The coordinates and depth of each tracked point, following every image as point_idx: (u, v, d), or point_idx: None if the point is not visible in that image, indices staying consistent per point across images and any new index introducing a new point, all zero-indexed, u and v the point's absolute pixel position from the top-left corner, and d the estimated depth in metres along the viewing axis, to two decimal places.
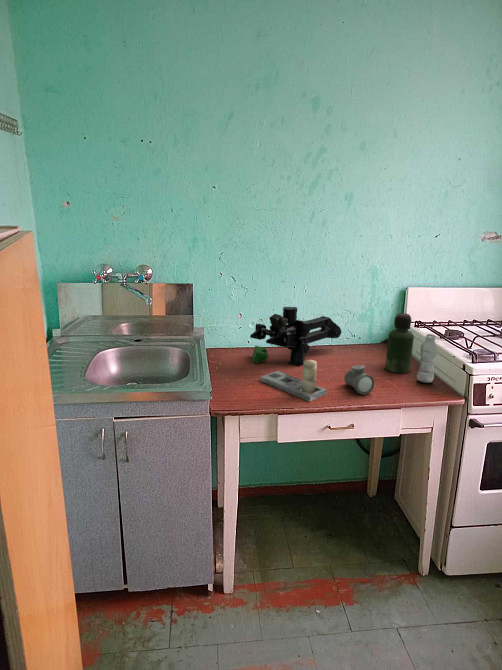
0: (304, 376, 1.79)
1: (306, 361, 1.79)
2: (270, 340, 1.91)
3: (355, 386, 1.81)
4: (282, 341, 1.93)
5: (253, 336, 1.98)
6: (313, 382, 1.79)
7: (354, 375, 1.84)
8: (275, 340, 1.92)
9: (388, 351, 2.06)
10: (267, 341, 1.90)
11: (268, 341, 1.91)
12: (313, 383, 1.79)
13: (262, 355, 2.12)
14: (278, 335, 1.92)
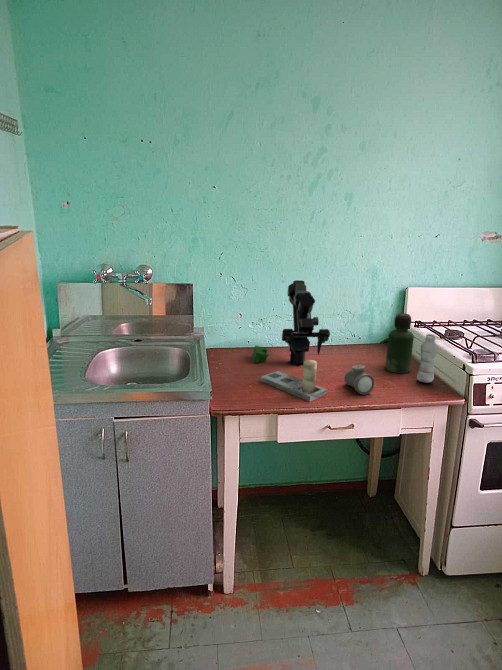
0: (304, 376, 1.79)
1: (306, 361, 1.79)
2: None
3: (355, 386, 1.81)
4: (324, 340, 1.90)
5: None
6: (313, 382, 1.79)
7: (354, 375, 1.84)
8: None
9: (388, 351, 2.06)
10: None
11: (319, 352, 1.87)
12: (313, 383, 1.79)
13: (262, 355, 2.12)
14: (321, 339, 1.87)
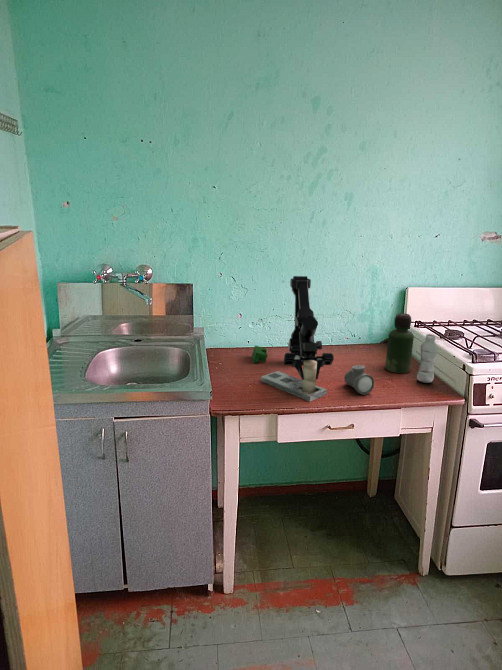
0: (304, 376, 1.79)
1: (306, 361, 1.79)
2: (318, 374, 1.80)
3: (355, 386, 1.81)
4: (322, 364, 1.83)
5: None
6: (313, 382, 1.79)
7: (354, 375, 1.84)
8: None
9: (388, 351, 2.06)
10: (317, 378, 1.80)
11: (317, 377, 1.80)
12: (313, 383, 1.79)
13: (262, 355, 2.12)
14: (320, 363, 1.80)
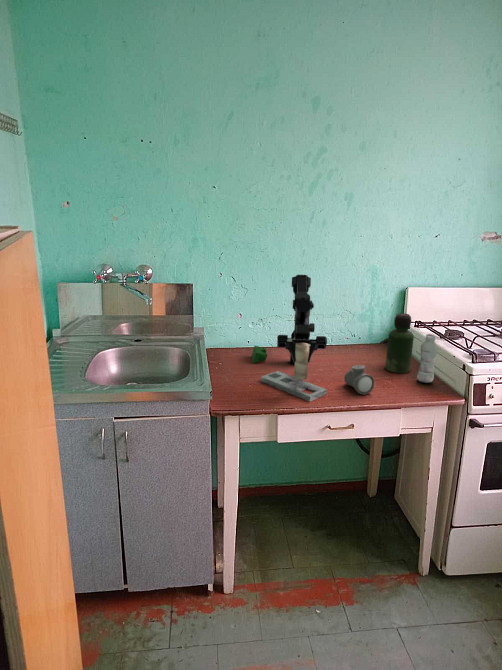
0: (296, 358, 1.77)
1: (298, 343, 1.78)
2: (310, 357, 1.78)
3: (355, 386, 1.81)
4: (316, 347, 1.81)
5: (294, 358, 1.78)
6: (305, 365, 1.77)
7: (354, 375, 1.84)
8: (311, 352, 1.79)
9: (388, 351, 2.06)
10: (309, 361, 1.77)
11: (309, 360, 1.78)
12: (305, 366, 1.77)
13: (261, 355, 2.12)
14: (312, 346, 1.78)
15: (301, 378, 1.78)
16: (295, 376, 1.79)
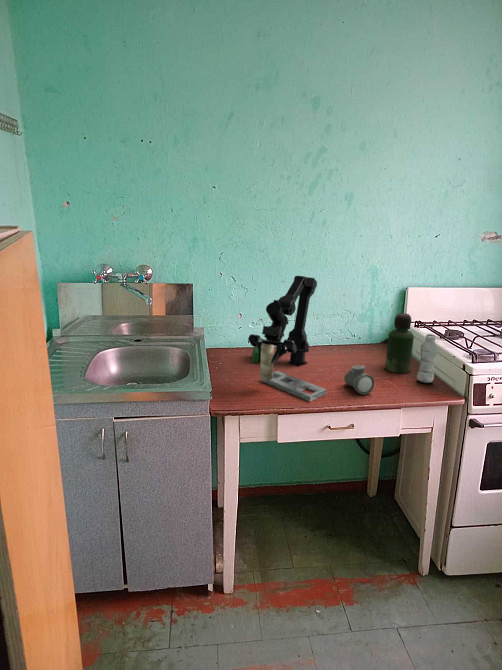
0: None
1: (265, 344, 1.82)
2: (275, 359, 1.80)
3: (355, 386, 1.81)
4: (284, 351, 1.82)
5: None
6: (267, 366, 1.80)
7: (354, 375, 1.84)
8: (278, 355, 1.81)
9: (388, 351, 2.06)
10: (273, 363, 1.80)
11: (273, 362, 1.80)
12: (268, 367, 1.80)
13: None
14: (278, 349, 1.80)
15: (264, 378, 1.82)
16: (260, 376, 1.84)
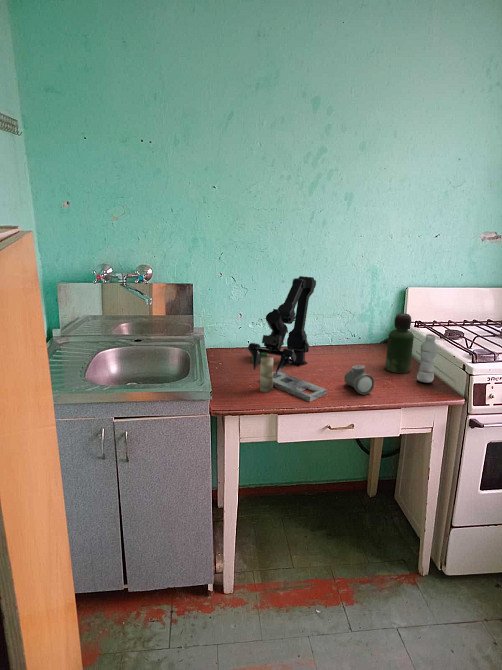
0: (260, 371, 1.83)
1: (264, 357, 1.83)
2: (279, 369, 1.80)
3: (355, 386, 1.81)
4: (288, 360, 1.82)
5: (256, 366, 1.85)
6: (267, 378, 1.82)
7: (354, 375, 1.84)
8: (282, 364, 1.81)
9: (388, 351, 2.06)
10: (277, 372, 1.80)
11: (278, 371, 1.80)
12: (267, 379, 1.82)
13: (261, 355, 2.12)
14: (282, 359, 1.80)
15: (264, 391, 1.83)
16: (260, 388, 1.85)
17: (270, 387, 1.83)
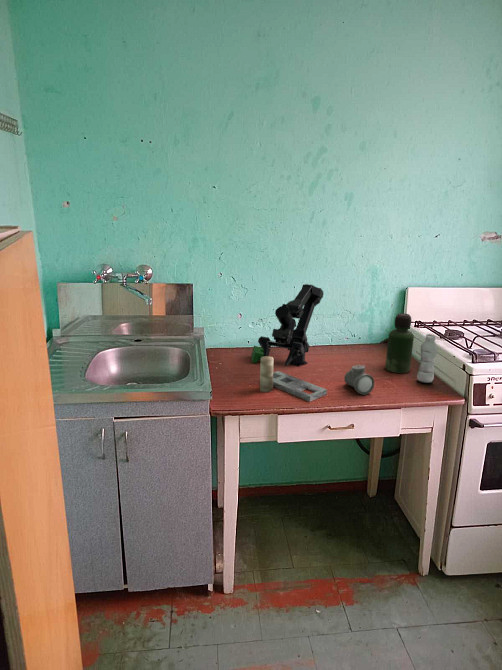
0: (260, 371, 1.83)
1: (264, 357, 1.83)
2: (288, 361, 1.89)
3: (355, 386, 1.81)
4: (297, 353, 1.90)
5: None
6: (267, 378, 1.82)
7: (354, 375, 1.84)
8: (291, 357, 1.90)
9: (388, 351, 2.06)
10: (286, 364, 1.88)
11: (287, 364, 1.89)
12: (267, 379, 1.82)
13: (261, 355, 2.12)
14: (291, 352, 1.89)
15: (264, 391, 1.83)
16: (260, 388, 1.85)
17: (270, 387, 1.83)
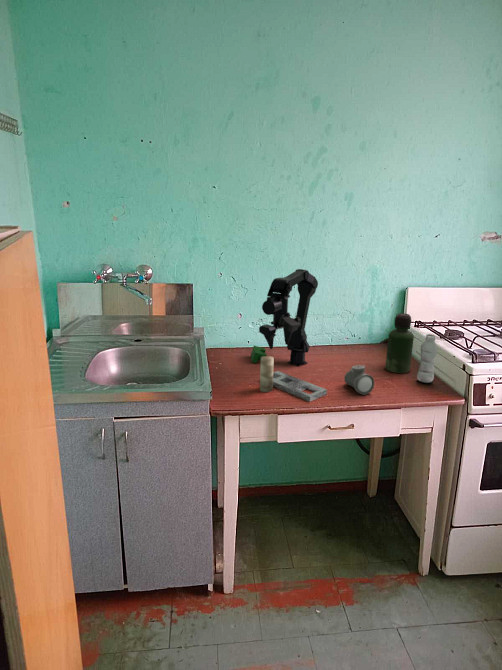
0: (260, 371, 1.83)
1: (265, 357, 1.83)
2: None
3: (355, 386, 1.81)
4: None
5: None
6: (267, 378, 1.82)
7: (354, 375, 1.84)
8: None
9: (388, 351, 2.06)
10: None
11: None
12: (267, 379, 1.82)
13: (260, 355, 2.12)
14: (292, 332, 1.97)
15: (264, 390, 1.83)
16: (260, 388, 1.85)
17: (270, 387, 1.83)
